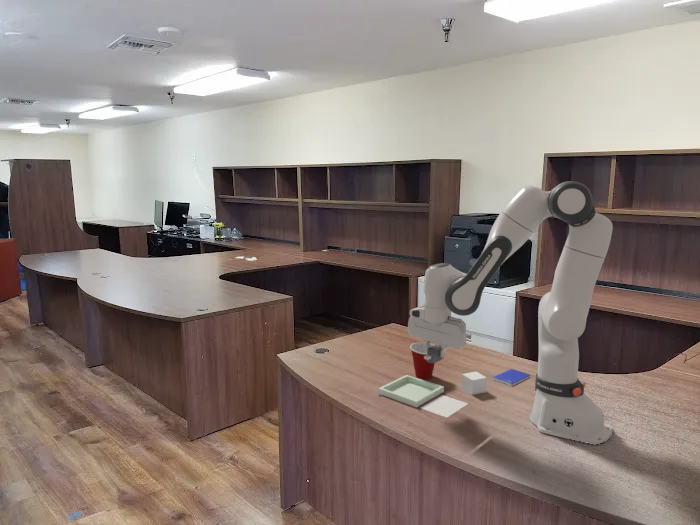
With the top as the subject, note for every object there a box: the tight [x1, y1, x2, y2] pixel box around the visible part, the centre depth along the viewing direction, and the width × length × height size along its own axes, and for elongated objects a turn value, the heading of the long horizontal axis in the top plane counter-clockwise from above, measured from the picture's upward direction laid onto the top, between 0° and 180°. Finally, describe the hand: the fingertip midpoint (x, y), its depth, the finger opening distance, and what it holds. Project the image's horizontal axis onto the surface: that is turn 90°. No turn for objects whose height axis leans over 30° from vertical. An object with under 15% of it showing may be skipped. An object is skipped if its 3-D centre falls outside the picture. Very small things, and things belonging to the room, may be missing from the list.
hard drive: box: [491, 368, 531, 387], centre depth 184 cm, size 2×8×12 cm
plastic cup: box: [409, 342, 436, 380], centre depth 184 cm, size 11×11×12 cm
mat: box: [420, 394, 469, 418], centre depth 161 cm, size 10×13×1 cm
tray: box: [377, 374, 445, 409], centre depth 171 cm, size 16×16×2 cm
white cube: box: [461, 371, 488, 396], centre depth 172 cm, size 6×6×6 cm
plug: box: [424, 344, 445, 364], centre depth 160 cm, size 9×3×4 cm, turn 137°
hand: (435, 355), depth 161 cm, fingers closed on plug, 3 cm apart
